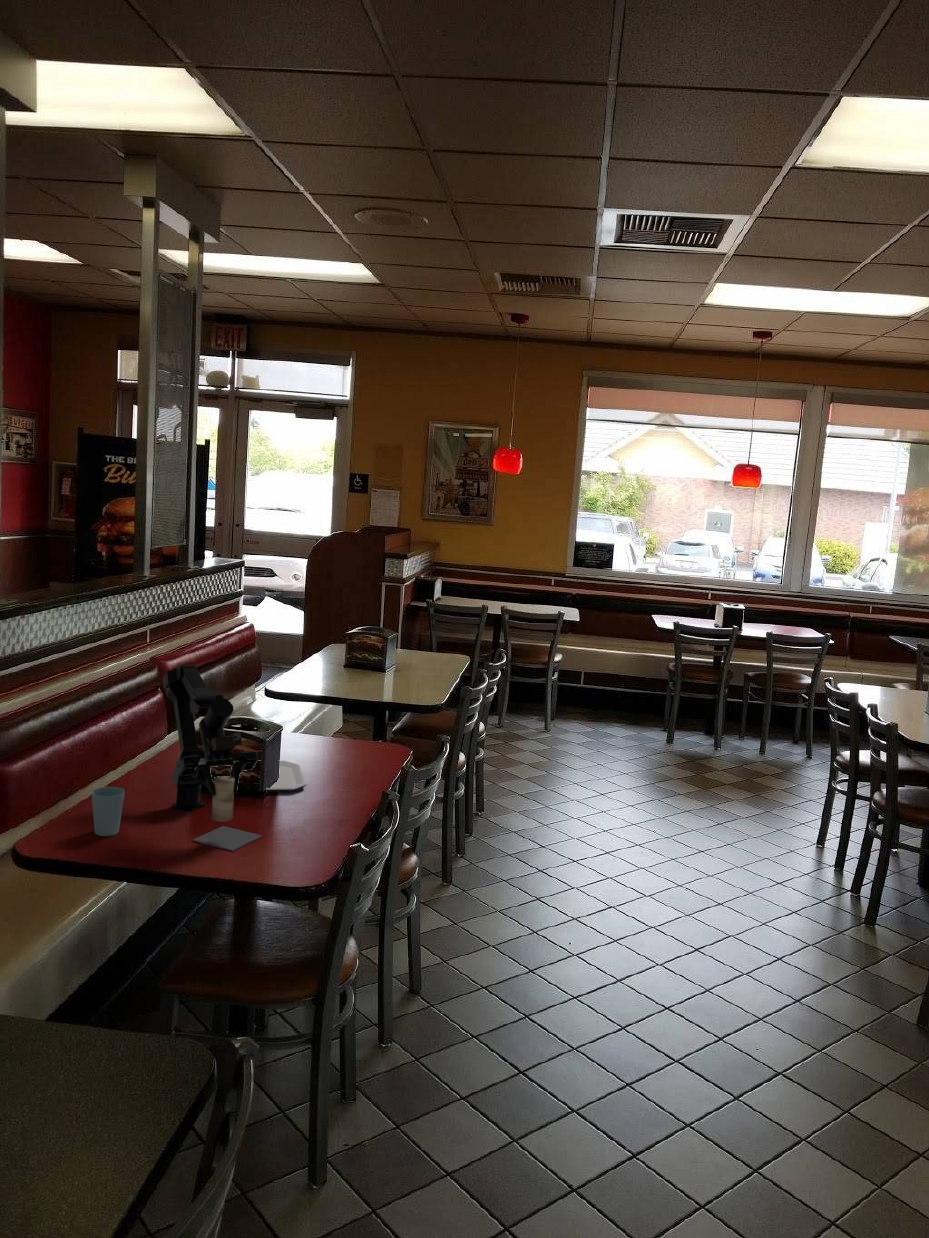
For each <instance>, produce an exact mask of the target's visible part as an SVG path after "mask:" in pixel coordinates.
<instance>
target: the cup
mask: <svg viewBox="0 0 929 1238" xmlns="http://www.w3.org/2000/svg"><path fill="white" fill-rule="evenodd" d="M90 792H91V802H92V814H93V815H92V816H93V825H94V826H93V827H94V828H93V829H94V834H95V835H97V836H100V837H111V836H115V835H117V834H119V831H120V825H121V819H122V812H123V805H124V799H125V794H126V790H125V789H124V788H121V787H116V786H105V787H99V788H98V787H97V788H95V789H92V790H91V791H90Z"/></svg>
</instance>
